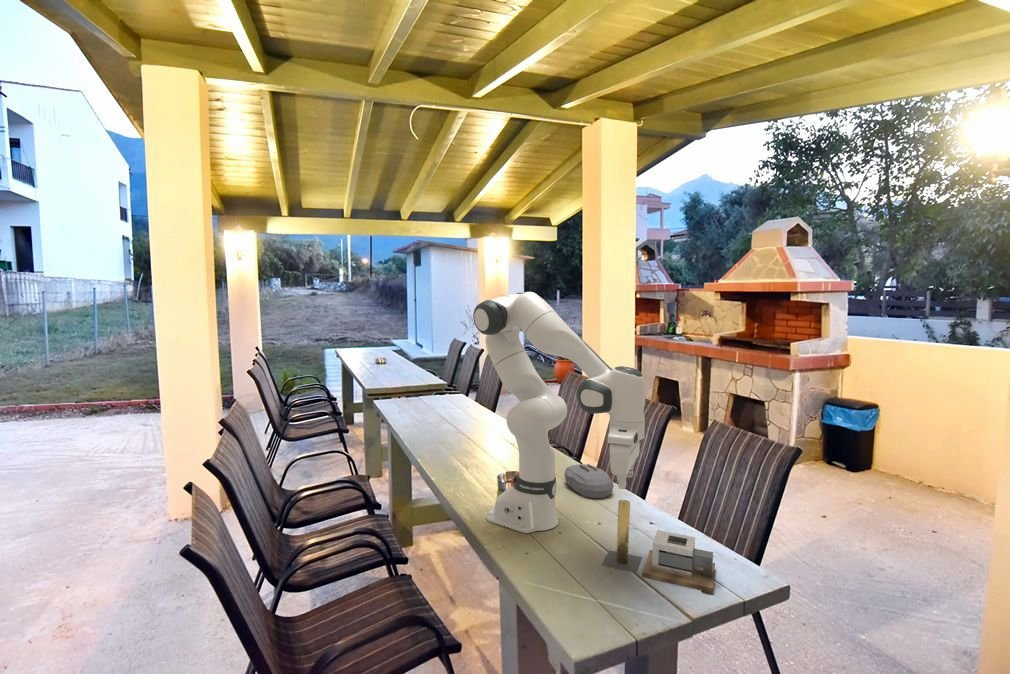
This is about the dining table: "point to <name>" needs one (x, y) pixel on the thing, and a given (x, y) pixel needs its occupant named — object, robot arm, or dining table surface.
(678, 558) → the block
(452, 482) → the dining table surface
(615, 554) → the rubber mat
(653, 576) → the walnut base
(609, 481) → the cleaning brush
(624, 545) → the brass pin
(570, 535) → the dining table surface
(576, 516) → the dining table surface
